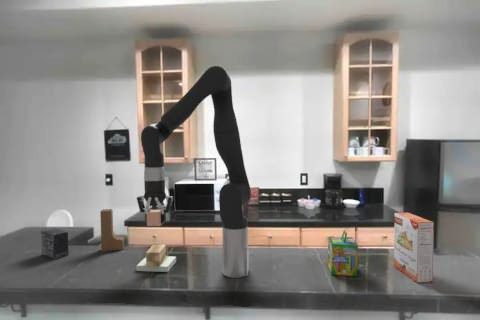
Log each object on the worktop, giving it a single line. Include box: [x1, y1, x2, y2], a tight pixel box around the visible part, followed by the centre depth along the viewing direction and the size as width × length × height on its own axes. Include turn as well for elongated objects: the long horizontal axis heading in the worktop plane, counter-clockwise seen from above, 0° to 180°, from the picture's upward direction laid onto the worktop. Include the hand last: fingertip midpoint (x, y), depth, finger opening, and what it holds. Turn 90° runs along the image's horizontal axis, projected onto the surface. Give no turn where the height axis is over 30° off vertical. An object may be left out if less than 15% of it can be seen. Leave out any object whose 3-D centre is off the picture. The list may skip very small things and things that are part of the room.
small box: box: [40, 228, 70, 260], centre depth 128 cm, size 11×6×10 cm, turn 58°
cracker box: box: [393, 212, 435, 283], centre depth 107 cm, size 14×6×21 cm, turn 3°
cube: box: [146, 209, 163, 227], centre depth 115 cm, size 5×5×5 cm
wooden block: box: [99, 208, 125, 252], centre depth 135 cm, size 9×4×18 cm, turn 106°
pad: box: [136, 255, 177, 273], centre depth 116 cm, size 12×11×2 cm
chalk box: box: [327, 230, 359, 277], centre depth 110 cm, size 9×9×15 cm
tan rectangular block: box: [145, 243, 167, 266], centre depth 115 cm, size 5×9×5 cm, turn 179°
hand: (155, 222), depth 115 cm, fingers closed on cube, 5 cm apart
